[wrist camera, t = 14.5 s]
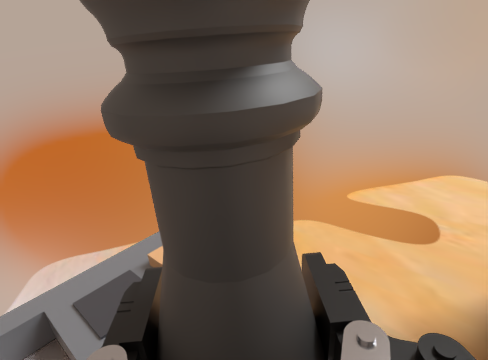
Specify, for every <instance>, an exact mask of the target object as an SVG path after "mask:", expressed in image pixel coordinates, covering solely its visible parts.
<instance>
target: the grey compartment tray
mask: <svg viewBox="0 0 488 360" xmlns="http://www.w3.org/2000/svg"><path fill="white" fill-rule="evenodd" d="M162 264H163V246H162V241H161V236H160V231H159V232H157V233H155V234H153V235H152V236H150V237H148V238H146V239H144V240H142V241H140V242H138V243H136V244H135V245H133V246H131V247H129V248H127V249H125V250H123V251H122V252H120V253H118V254H116V255H114V256H112V257H110V258H109V259H107V260H105V261H103V262H101V263H99V264H97V265H95V266H94V267H92V268H90V269H88V270H86V271H84V272H82V273H81V274H79V275H77V276H75V277H73V278H71V279H69V280H68V281H66V282H64V283H62V284H60V285H58V286H56V287H54V288H53V289H51V290H49V291H47V292H45V293H43V294H41V295H40V296H38V297H36V298H34V299H32V300H30V301H28V302H27V303H25V304H23V305H21V306H19V307H17V308H15V309H14V310H12V311H10V312H8V313H6V314H4V315H2V316H1V317H0V360H23V359H24V358H26V357H27V356H29V355H31V354H32V353H34V352H35V351H37V350H38V349H40V348H41V347H43V346H45V345H46V344H48V343H49V342H51V341H52V340H54V339H55V338H56V339H57V340H58V342H59V343H60V345H61V346H62V348H63V349H64V351H65V353H66V354H67V356H68V357H69V359H70V360H86V359H87V358H88V357H89V356H90V355H91V354H92V353H93V352H95V351H96V350H98V349H100V348H101V347H102V345H103V343H104V340H105V338H106V335H107V333H108V331H109V328H110V326H111V323H112V321H113V318H114V316H115V314H116V313H117V309H118V306H119V305H120V302H121V299H122V297H123V294H124V292H125V291H126V290H127V289H128V288H129V286H130V285H131V284H132V283H133V282H139V281H141V280H142V277H143V275H144V272H145V270H146V268H154V267H162Z"/></svg>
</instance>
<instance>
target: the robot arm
mask: <svg viewBox="0 0 488 360" xmlns="http://www.w3.org/2000/svg"><path fill="white" fill-rule="evenodd" d="M302 274H303V278H304V282H305V285H306V289H307V293H308V296H309V300H310V303H311V307H312V310H313V313H314V317H315V320H316V324H317V328H318V331H319V335H320V338H321V342H322V346H323V349H324V357H325V360H476V359H475V358H474V357H473V356H472V355H471V354H470V353H469V352H468V351H467V350H466V349H465V348H464V347H463V346H462V345H461V344H460V343H458V342H457V341H455V340H454V339H452V338H450V337H448V336H445V335H442V334H438V333H428V334H425V335H423V336H421V338H420V339H419V341H418V343H415V342H410V341H405V340H399V339H395V338H392V337H390V336H387V335H386V333H385V332H384V331H383V330H382V329H381V328H380V327H379V326H377V325H375V324H373V323H372V322H371V321H370V319H369V317H368V315H367V313H366V311H365V309H364V308H363V306H362V304H361V302H360V300H359V298H358V296H357V295H356V293H355V291H354V290H353V287H352V285H351V283H349V280H348V278H347V276H346V274H345V272H344V271H343V270H342V269H341V268H340V267H338V266H337V265H336V264H335V263H334V264H326V263H325V260H324V258H323V256H322V254H321V253H320V252H318V253H307V254H303V255H302ZM161 280H162V267H154V268H146V270H145V272H144V275H143V277H142V280H141V281H139V282H133V283H132V284H131V285H130V286H129V288H128V289H127V290H126V291H125V292H124V294H123V297H122V299H121V302H120V305H119V306H118V309H117V313H116V314H115V316H114V318H113V321H112V323H111V326H110V328H109V331H108V333H107V335H106V338H105V340H104V343H103V345H102V347H101V348H100V349H98V350H96V351H95V352H93V353H92V354H91V355H90V356H89V357H88V358H87V359H86V360H157V342H158V328H159V312H160V296H161Z"/></svg>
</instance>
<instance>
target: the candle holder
mask: <svg viewBox="0 0 488 360" xmlns="http://www.w3.org/2000/svg"><path fill="white" fill-rule="evenodd" d="M80 1H81V3H82V4H83V5H84V6H85V7H86V9H87V10H88V11H90V13H92V14H93V15H94V16H95V18H96V19H97V20H98V22H99V23H100V24H101V26H102V28H103V29H104V32H105V34H106V37H107V41H108V42H109V43H110V45H111V46H112V47H114V48H116V49H117V50H118V51H119V52H120V53H121V54H122V56H123V59H124V62H125V68H126V72H127V73H126V74H125V76H124V78H123V79H122V81H121V82H120V83H119V84H118V85H117V86H116V87H115V88H114V89H113V90H112V91H111V92H110V93H109V94H108V96H107V97H106V98H105V100H104V101H103V103H102V105H101V113H102V117H103V120H104V124H105V126H106V129H107V131H108V132H109V134H110V135H111V137H113V138H115V139H117V140H119V141H122V142H125V143H128V144H131V145H133V146H134V150H135V153H136V156H137V158H138V159H140V160H143V161H145V165H146V170H147V175H148V180H149V184H150V189H151V193H152V198H153V203H154V208H155V213H156V217H157V222H158V227H159V231H160V236H161V241H162V246H163V264H162V280H161V296H160V312H159V328H158V342H157V360H325V357H324V349H323V346H322V342H321V338H320V335H319V331H318V328H317V324H316V320H315V317H314V313H313V310H312V307H311V303H310V300H309V296H308V293H307V289H306V285H305V282H304V278H303V274H302V271H301V267H300V264H299V260H298V256H297V253H296V249H295V245H294V242H293V145H294V144H295V143H296V142H297V140H298V139H299V138H300V130H301V129H302V128H304V127H305V126H306V125H308V124H309V123H310V122H311V121H312V120H313V119H314V118H315V116H316V115H317V114H318V112H319V110H320V106H321V102H322V87H321V86H320V85H319V84H318V83H317V82H316V81H315V80H314V79H312V77H310V76H309V75H308V74H306V73H305V72H304V71H302V70H301V69H299V68H298V67H297V66H296V65H295V64H294V63H293V62H292V60H291V44H292V40H293V39H294V37H295V36H296V35H297V34H298V33H299V32H300V31H301V29H302V27H303V18H304V13H305V10H306V7H307V5H308V3H309V1H310V0H80Z"/></svg>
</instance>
